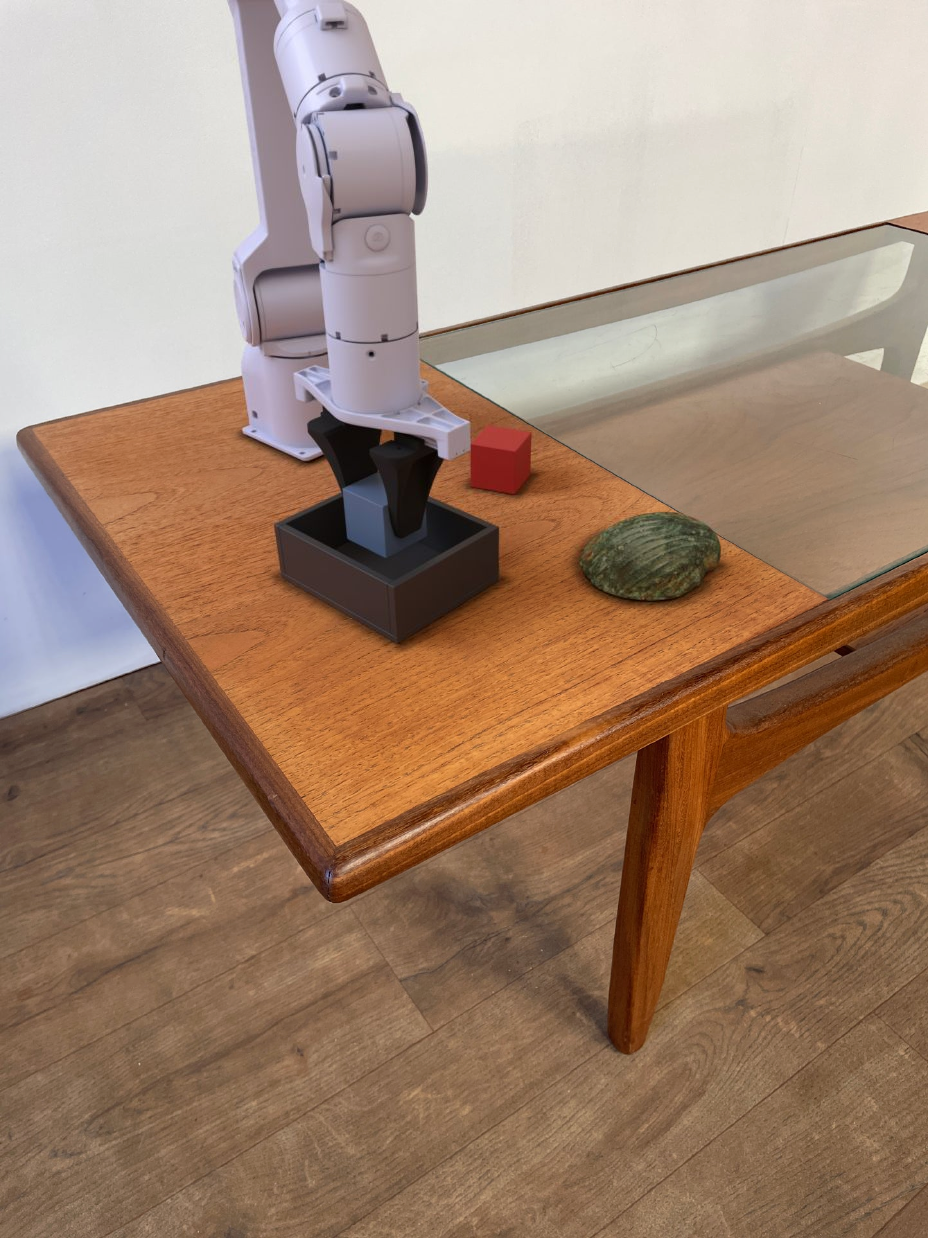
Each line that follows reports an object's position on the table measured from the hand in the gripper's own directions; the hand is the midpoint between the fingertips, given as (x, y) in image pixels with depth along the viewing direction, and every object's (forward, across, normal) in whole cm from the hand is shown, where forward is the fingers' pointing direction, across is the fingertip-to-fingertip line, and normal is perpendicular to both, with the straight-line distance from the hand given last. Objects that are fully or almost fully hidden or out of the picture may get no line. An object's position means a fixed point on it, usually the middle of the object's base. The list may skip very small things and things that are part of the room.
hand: (385, 521), depth 67 cm
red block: (+5, +4, -17) cm, 18 cm away
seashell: (+5, -13, -14) cm, 20 cm away
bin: (+5, 0, 0) cm, 5 cm away
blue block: (+1, 0, 0) cm, 1 cm away
